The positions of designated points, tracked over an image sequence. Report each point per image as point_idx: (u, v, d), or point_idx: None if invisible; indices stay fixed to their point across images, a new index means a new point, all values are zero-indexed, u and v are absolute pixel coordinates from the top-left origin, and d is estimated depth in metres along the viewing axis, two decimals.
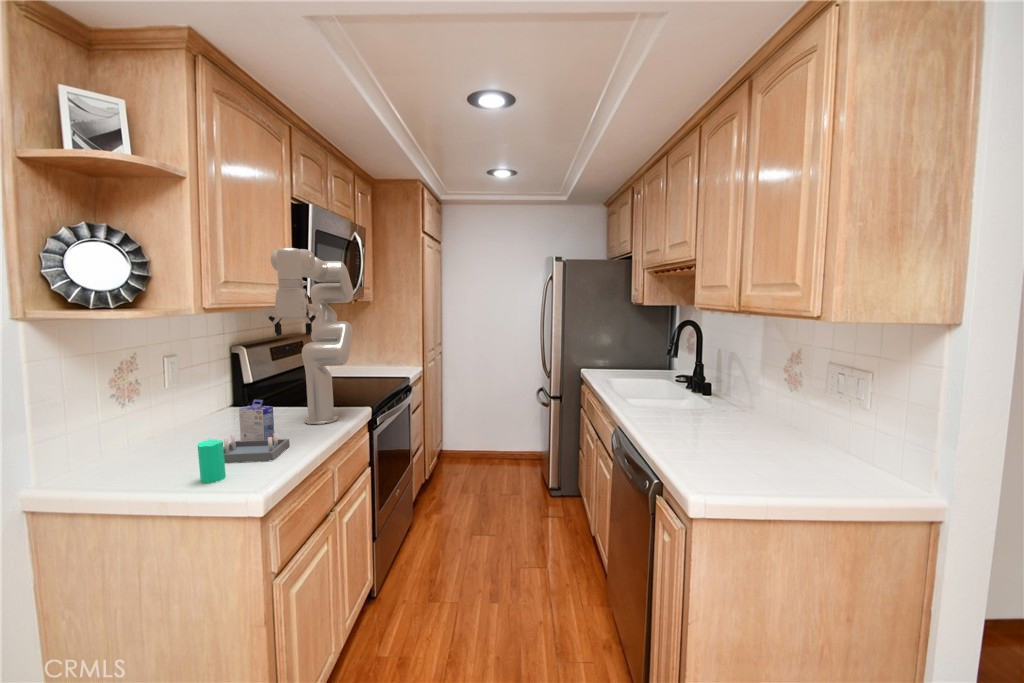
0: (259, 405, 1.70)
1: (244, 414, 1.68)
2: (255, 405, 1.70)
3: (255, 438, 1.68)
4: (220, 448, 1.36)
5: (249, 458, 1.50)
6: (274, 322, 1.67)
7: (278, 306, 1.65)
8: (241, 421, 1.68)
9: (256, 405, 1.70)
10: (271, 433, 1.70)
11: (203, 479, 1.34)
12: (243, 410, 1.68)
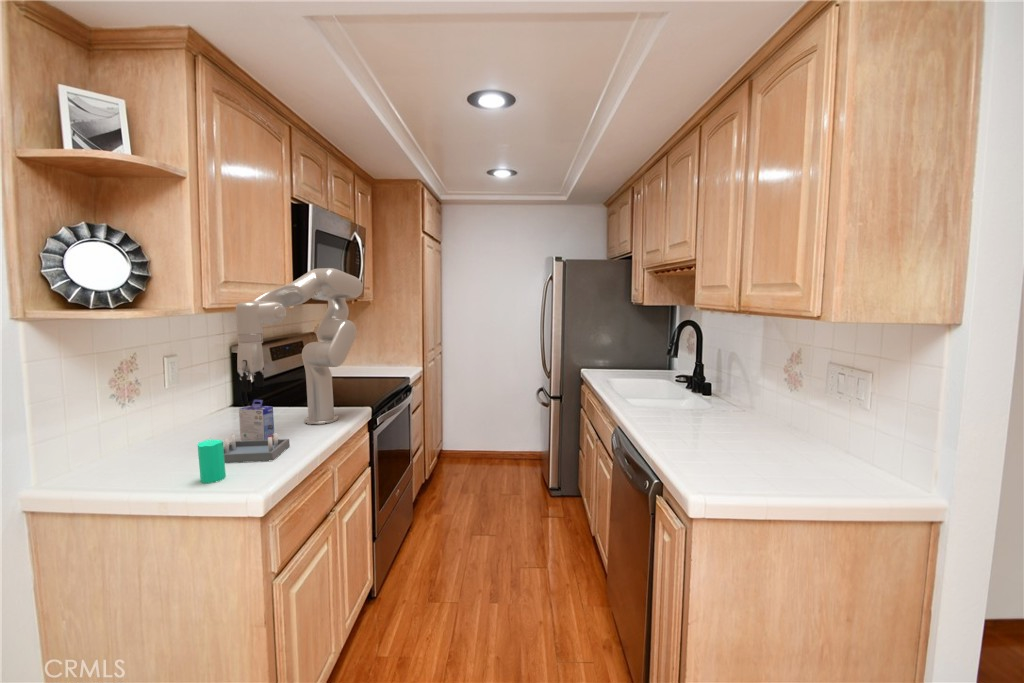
0: (259, 405, 1.70)
1: (244, 414, 1.68)
2: (255, 405, 1.70)
3: (255, 438, 1.68)
4: (220, 448, 1.36)
5: (249, 458, 1.50)
6: (248, 378, 1.62)
7: (253, 360, 1.64)
8: (241, 421, 1.68)
9: (256, 405, 1.70)
10: (271, 433, 1.70)
11: (203, 479, 1.34)
12: (243, 410, 1.68)
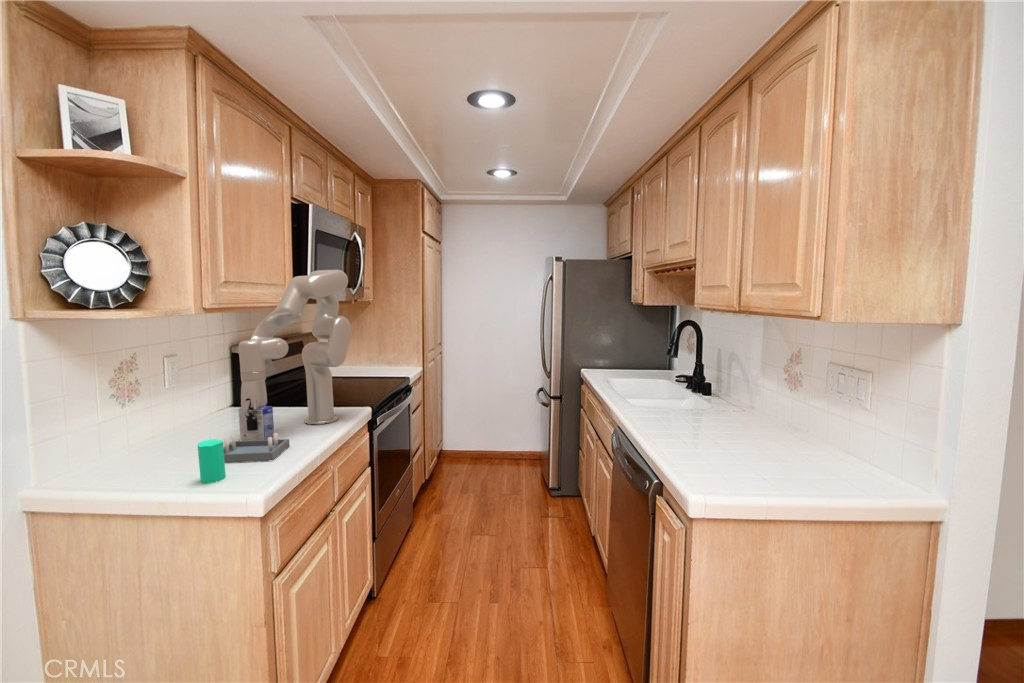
0: None
1: (243, 414, 1.68)
2: None
3: (255, 438, 1.68)
4: (220, 448, 1.36)
5: (249, 458, 1.50)
6: (254, 417, 1.65)
7: (256, 398, 1.65)
8: (241, 421, 1.68)
9: None
10: (271, 433, 1.70)
11: (203, 479, 1.34)
12: None
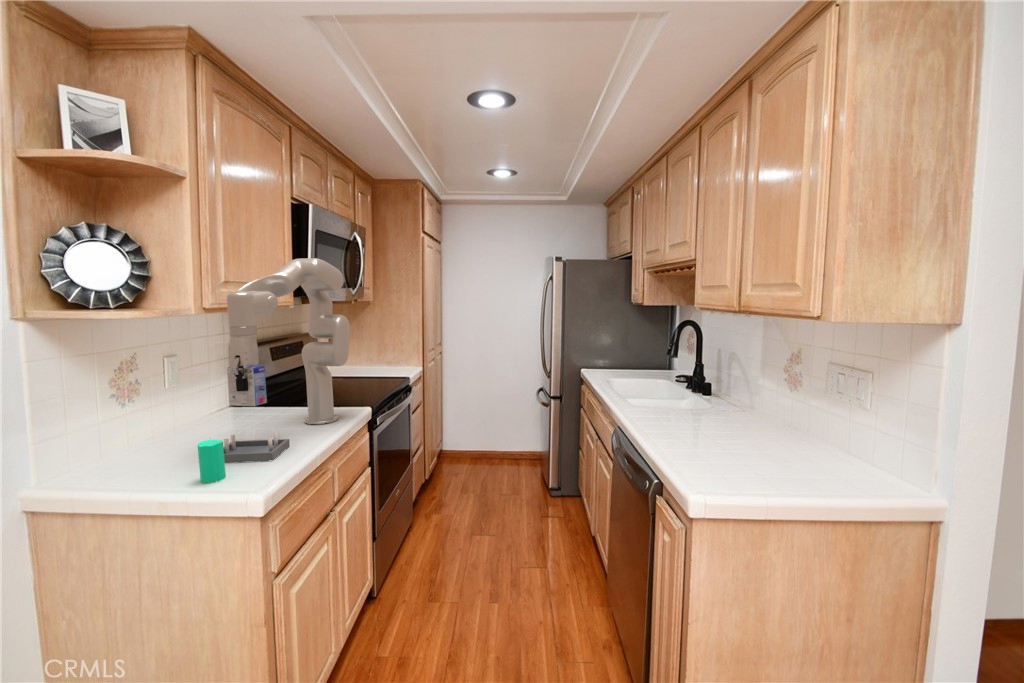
0: None
1: (232, 373, 1.52)
2: None
3: (245, 400, 1.52)
4: (220, 448, 1.36)
5: (249, 458, 1.50)
6: (244, 376, 1.50)
7: (247, 356, 1.50)
8: (229, 381, 1.53)
9: None
10: (263, 395, 1.55)
11: (203, 479, 1.34)
12: (231, 369, 1.52)
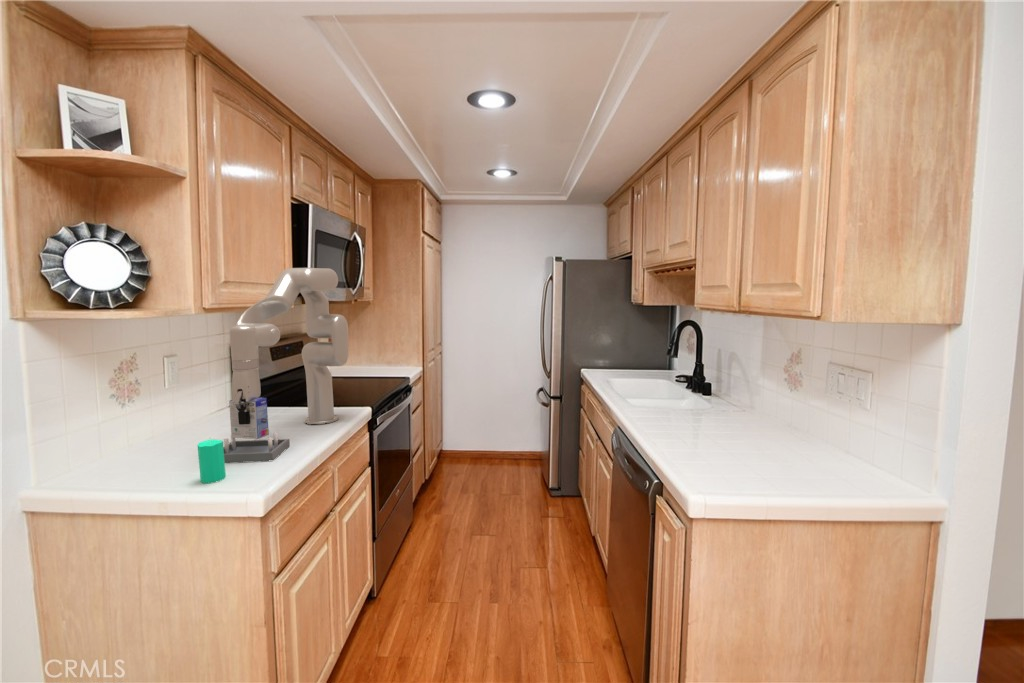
0: None
1: (235, 406, 1.53)
2: None
3: (247, 433, 1.53)
4: (220, 448, 1.36)
5: (249, 458, 1.50)
6: (246, 410, 1.51)
7: (249, 389, 1.51)
8: (232, 414, 1.54)
9: None
10: (265, 427, 1.56)
11: (203, 479, 1.34)
12: None
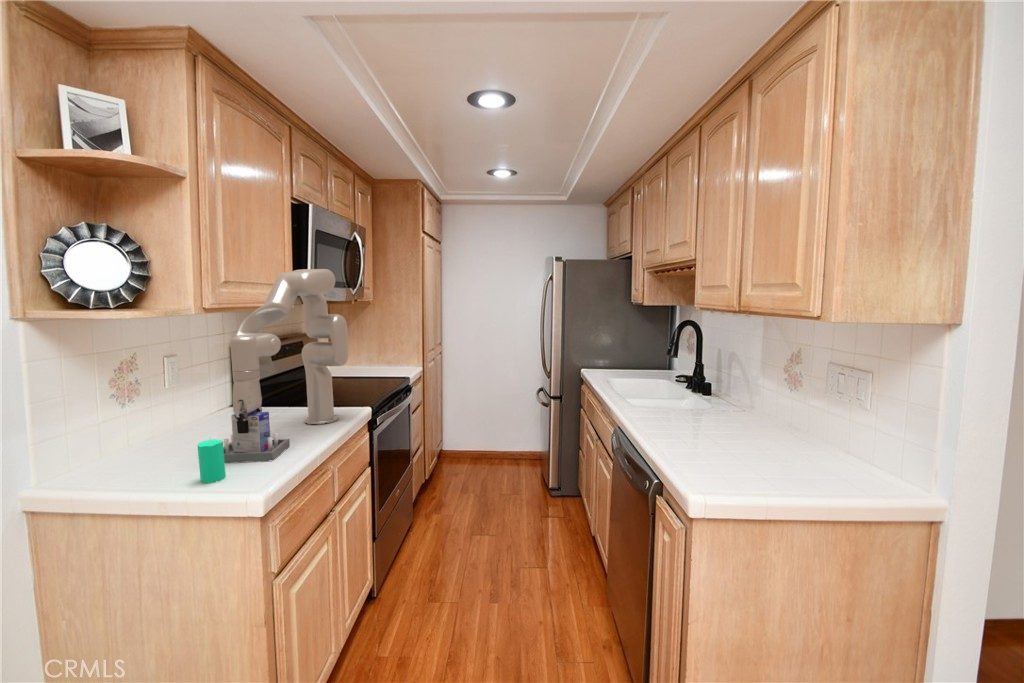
0: (254, 411, 1.56)
1: None
2: None
3: (250, 447, 1.55)
4: (220, 448, 1.36)
5: (249, 458, 1.50)
6: (245, 419, 1.50)
7: (250, 400, 1.52)
8: (234, 428, 1.55)
9: None
10: (267, 441, 1.57)
11: (203, 479, 1.34)
12: None
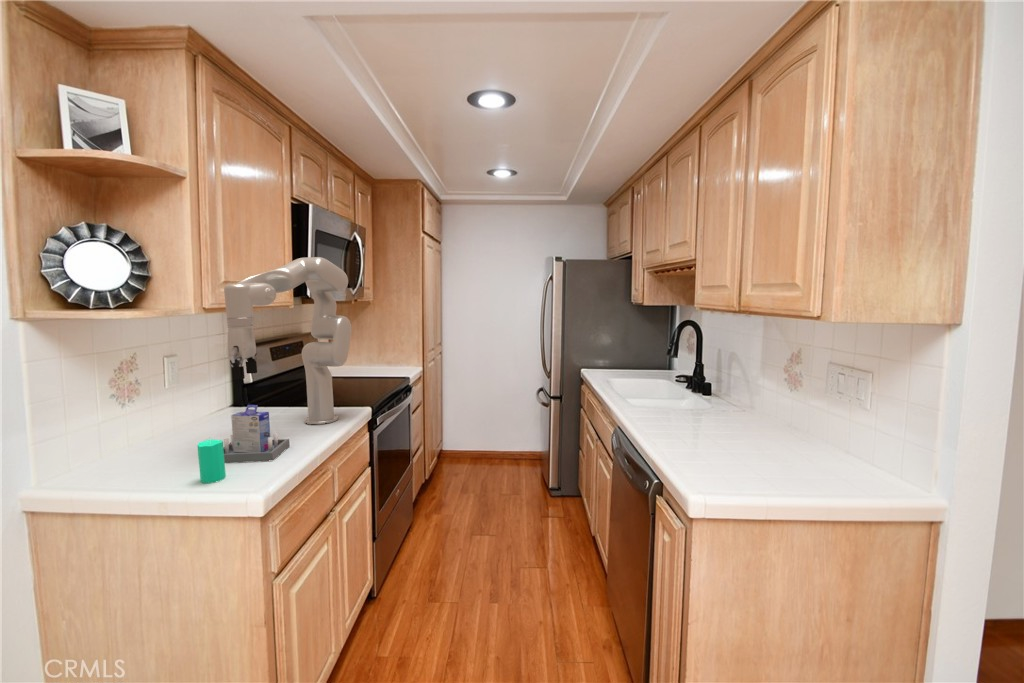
0: (254, 411, 1.56)
1: (237, 420, 1.54)
2: (249, 411, 1.57)
3: (250, 447, 1.55)
4: (220, 448, 1.36)
5: (249, 458, 1.50)
6: (240, 365, 1.52)
7: (245, 346, 1.54)
8: (234, 428, 1.55)
9: (250, 411, 1.57)
10: (267, 441, 1.57)
11: (203, 479, 1.34)
12: (236, 416, 1.54)
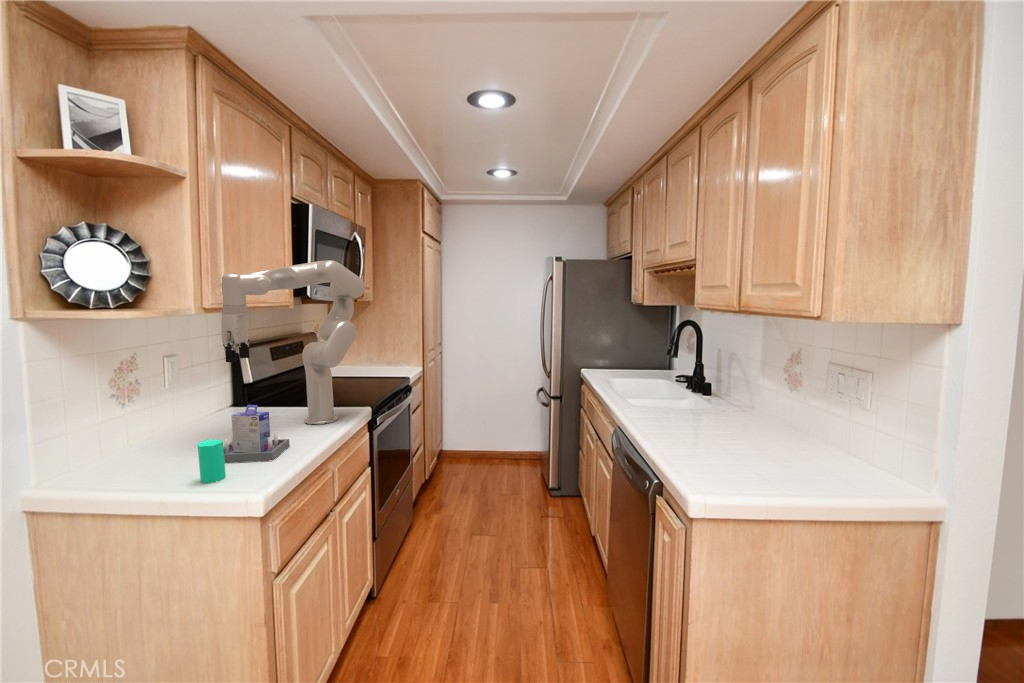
0: (254, 411, 1.56)
1: (237, 420, 1.54)
2: (249, 411, 1.57)
3: (250, 447, 1.55)
4: (220, 448, 1.36)
5: (249, 458, 1.50)
6: (232, 348, 1.64)
7: (237, 331, 1.65)
8: (234, 428, 1.55)
9: (250, 411, 1.57)
10: (267, 441, 1.57)
11: (203, 479, 1.34)
12: (236, 416, 1.54)
